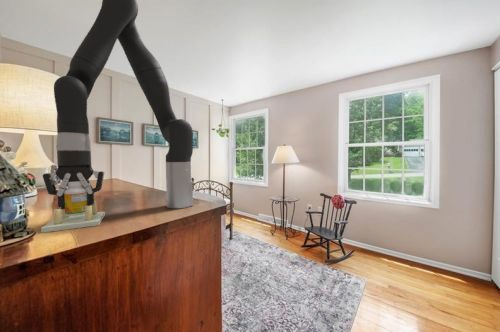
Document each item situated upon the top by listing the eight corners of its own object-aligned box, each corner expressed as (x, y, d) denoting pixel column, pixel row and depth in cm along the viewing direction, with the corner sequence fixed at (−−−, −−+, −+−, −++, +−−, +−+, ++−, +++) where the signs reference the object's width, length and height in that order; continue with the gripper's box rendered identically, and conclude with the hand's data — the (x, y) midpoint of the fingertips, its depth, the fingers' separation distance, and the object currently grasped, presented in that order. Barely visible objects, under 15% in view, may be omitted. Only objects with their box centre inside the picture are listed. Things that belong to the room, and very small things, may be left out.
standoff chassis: (104, 215, 69) (104, 199, 69) (98, 225, 59) (98, 206, 59) (57, 220, 64) (56, 203, 64) (41, 232, 53) (40, 212, 53)
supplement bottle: (65, 213, 62) (63, 181, 61) (88, 210, 65) (87, 179, 65) (65, 217, 57) (63, 182, 57) (89, 214, 61) (88, 181, 61)
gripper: (106, 150, 67) (108, 202, 68) (46, 149, 60) (49, 207, 61) (102, 149, 61) (104, 207, 61) (34, 148, 54) (38, 213, 55)
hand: (77, 207), depth 61 cm, fingers closed on supplement bottle, 5 cm apart
